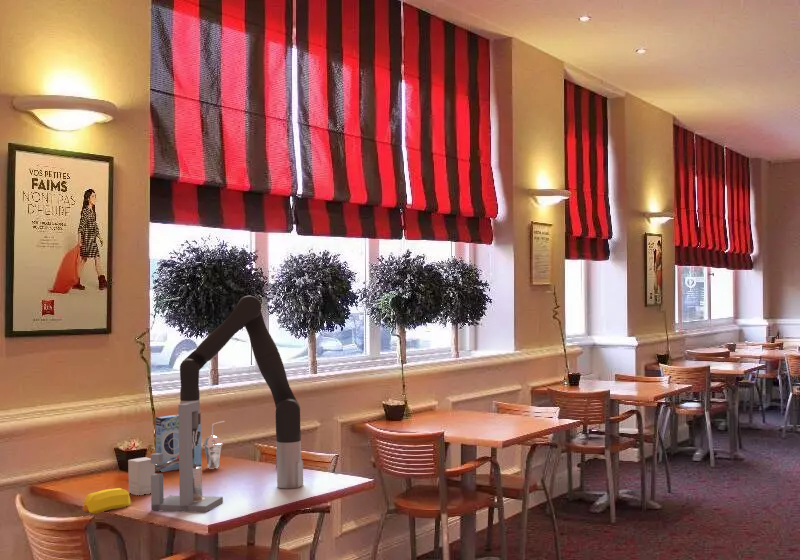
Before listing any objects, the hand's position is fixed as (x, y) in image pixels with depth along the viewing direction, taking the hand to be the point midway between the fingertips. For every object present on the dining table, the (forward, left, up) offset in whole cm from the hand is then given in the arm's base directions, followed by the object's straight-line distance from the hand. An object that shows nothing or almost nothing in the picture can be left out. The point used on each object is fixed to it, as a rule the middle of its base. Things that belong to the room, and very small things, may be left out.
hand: (190, 458), depth 321 cm
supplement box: (+18, +3, -13) cm, 23 cm away
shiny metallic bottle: (-11, +19, -10) cm, 24 cm away
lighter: (-19, -52, -13) cm, 57 cm away
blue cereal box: (+26, -44, -13) cm, 53 cm away
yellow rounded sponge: (+18, +28, -13) cm, 36 cm away
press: (-9, +21, -12) cm, 26 cm away
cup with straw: (+11, -46, -13) cm, 49 cm away
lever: (0, +17, 0) cm, 17 cm away
